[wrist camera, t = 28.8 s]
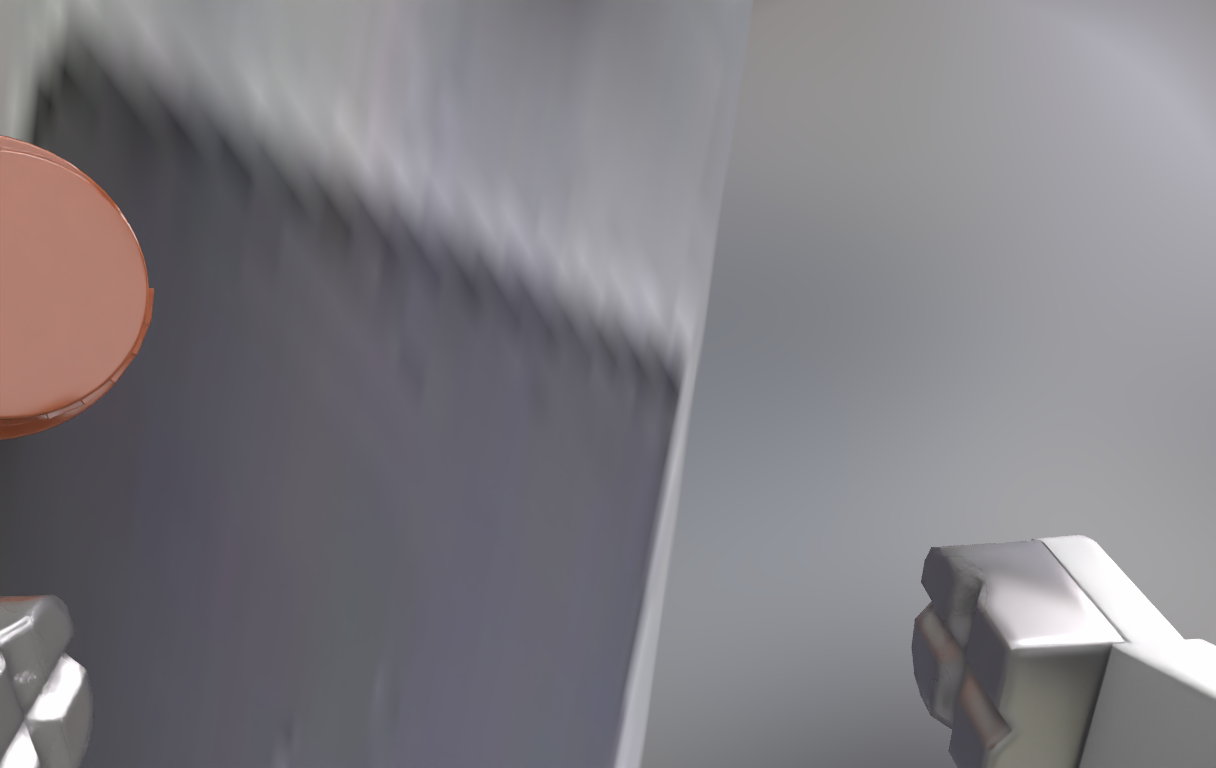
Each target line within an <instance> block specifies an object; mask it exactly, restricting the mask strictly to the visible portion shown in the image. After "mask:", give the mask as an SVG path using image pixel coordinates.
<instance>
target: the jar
mask: <svg viewBox="0 0 1216 768" xmlns="http://www.w3.org/2000/svg"><path fill="white" fill-rule="evenodd" d="M153 298H154V289H152V288H149V284H148V273H147V268H146V264H145V259H144V256H143V253H142V250H141V247H140V245H139V242H138V240H137V238H136V236H135V234H134V232H133V230H132V228H131V226H130V225H129V223H128V221H127V219H126V218H125V216H124V215H123V213H122V212H121V210H120V209H119V208H118V206H117V205H116V203H115V202H114V201H113V200H112V199H111V198H110V197H109V195H108V194H107V193H106V192H105V191H104V190H103V189H102V188H101V187H100V186H99V185H98V184H97V183H96V182H94V181H93V180H92V179H91V178H90V177H89V176H88V175H87V174H85V173H84V172H82V171H81V170H80V169H78V168H77V167H75V166H74V165H73V164H71V163H70V162H68V161H66V160H64V159H63V158H61V157H59V156H57V155H55V154H54V153H52V152H50V151H48V150H45V149H43V148H40V147H38V146H36V145H33V144H31V143H28V142H25V141H21V140H18V139H14V138H11V137H7V136H2V135H0V440H7V439H15V438H19V437H23V436H28V435H32V434H36V433H39V432H42V431H44V430H47V429H50V428H53V427H56V426H58V425H60V424H62V423H64V422H66V421H68V420H70V419H72V418H74V417H75V416H77V415H78V414H80V413H82V412H83V411H85V410H86V409H88V408H89V407H91V406H92V405H93V404H94V403H95V402H97V401H98V400H99V399H100V398H101V397H102V396H104V395H105V394H106V393H107V392H108V391H109V390H110V389H111V387H112V386H113V385H114V384H115V383H116V382H117V381H118V380H119V379H120V377H121V376H122V374H123V373H124V371H125V370H126V368H127V367H128V365H129V364H130V363H131V361H132V360H133V359H134V357H135V356H136V355H137V354H138V352H139V349H140V347H141V344H142V342H143V339H144V337H145V334H146V332H147V329H148V327H149V325H150V324H151V316H152V307H153Z"/></svg>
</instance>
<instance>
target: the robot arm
mask: <svg viewBox="0 0 1216 768" xmlns="http://www.w3.org/2000/svg"><path fill="white" fill-rule="evenodd" d="M921 583H922V584H923V586H924V588H925V590H926V591H927V593H928V595H929V597H930V598H931V600H932V602H931V603H930V604H929V605H928V606H927V607H926V608H925V609H924V610H923V611H922V612H921V613H920V614H919V615H918V617H917V618H916V619H915V624H914V632H913V640H912V654H913V655H912V656H913V665H914V675H915V678H916V682H917V685H918V688H919V692H920V695H921V697H922V699H923V701H924V703H925V705H926V707H927V709H928V711H929V713H930V715H931V716H932V717H934V718H935V719H937V720H938V721H940V722H941V723H943V724H944V725H946V726H947V727H949V728H951V729H952V735H951V740H950V746H949V752H950V754H951V756H952V758H953V760H954V762H955V764H956V766H957V767H958V768H1216V646H1215V645H1213V644H1211V643H1208V642H1206V641H1204V640H1202V639H1192V640H1184V638H1182V636H1181V635H1180V634H1179V633H1178V632H1177V631H1176V630H1175V629H1174V627H1173V626H1172V625H1171V624H1170V623H1169V622H1168V621H1167V620H1166V619H1165V618H1164V616H1162V614H1161V613H1160V612H1159V611H1158V610H1157V609H1156V608H1155V607H1154V606H1153V605H1152V603H1151V602H1150V601H1149V600H1148V599H1147V598H1146V597H1145V596H1144V595H1143V594H1142V592H1141V591H1140V590H1139V589H1138V588H1137V587H1136V586H1135V585H1134V584H1133V583H1132V581H1131V580H1130V579H1129V578H1128V577H1127V576H1126V575H1125V574H1124V573H1123V572H1122V570H1121V569H1120V568H1119V567H1118V566H1117V565H1116V564H1115V563H1114V562H1113V561H1112V560H1111V558H1110V557H1109V556H1108V555H1107V554H1106V553H1105V552H1104V551H1103V550H1102V549H1101V547H1100V546H1099V545H1098V544H1097V543H1096V542H1095V541H1094V540H1092V539H1089V538H1087V537H1085V536H1083V535H1075V536H1063V537H1051V538H1042V539H1041V538H1040V539H1032V540H1031V541H1020V542H1005V543H989V544H974V545H960V546H959V545H958V546H943V547H931V549H930V551H929V554H928V555H927V557H926V559H925V563H924V568H923V574H922V580H921ZM74 633H75V630H74V627H73V624H72V621H71V618H70V615H69V612H68V609H67V606H66V603H65V602H64V601H62V600H60V599H59V598H57V597H55V596H54V595H36V596H8V597H0V768H79V767H80V765H81V762H82V760H83V758H84V756H85V754H86V751H87V749H88V745H89V740H90V734H91V729H92V723H93V718H94V712H93V697H92V689H91V685H90V682H89V678H88V674H87V671H86V669H85V668H83V667H82V666H81V665H80V664H78V663H77V662H76V661H74V660H73V659H72V658H71V657H69V656H68V655H67V654H66V653H64V650H65V648H66V647H67V645H68V643H69V641H70V640H71V638H72V636H73V634H74Z"/></svg>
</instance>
